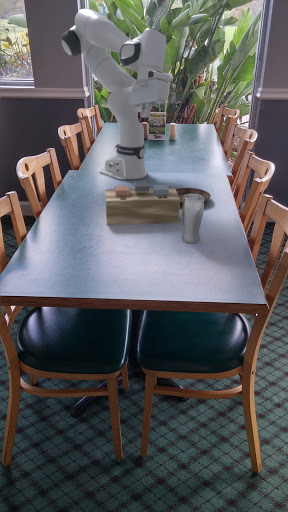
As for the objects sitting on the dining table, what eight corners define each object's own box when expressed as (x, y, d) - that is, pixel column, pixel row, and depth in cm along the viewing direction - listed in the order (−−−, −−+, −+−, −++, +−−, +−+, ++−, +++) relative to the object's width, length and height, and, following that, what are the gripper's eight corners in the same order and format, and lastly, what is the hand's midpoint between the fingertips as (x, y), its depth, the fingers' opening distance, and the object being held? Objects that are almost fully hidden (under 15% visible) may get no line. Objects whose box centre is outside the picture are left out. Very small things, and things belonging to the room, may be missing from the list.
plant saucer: (159, 196, 190) (160, 189, 188) (197, 192, 195) (198, 185, 194) (177, 212, 175) (177, 204, 174) (218, 206, 181) (218, 199, 179)
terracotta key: (115, 190, 167) (115, 185, 166) (128, 190, 168) (128, 185, 167) (115, 195, 163) (115, 190, 162) (129, 195, 163) (129, 190, 162)
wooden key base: (106, 211, 174) (105, 188, 169) (173, 210, 176) (174, 187, 171) (106, 224, 163) (106, 200, 159) (178, 222, 165) (180, 198, 161)
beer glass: (203, 236, 155) (206, 195, 148) (198, 245, 149) (201, 202, 142) (183, 233, 157) (185, 192, 150) (178, 241, 151) (180, 199, 144)
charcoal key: (134, 187, 167) (134, 181, 166) (147, 186, 168) (147, 181, 167) (135, 191, 163) (135, 186, 162) (149, 191, 163) (149, 186, 162)
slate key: (153, 190, 169) (153, 185, 168) (166, 190, 169) (166, 184, 168) (154, 195, 164) (154, 189, 163) (168, 194, 165) (168, 189, 164)
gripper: (127, 79, 170) (123, 117, 172) (158, 71, 153) (152, 113, 155) (142, 83, 173) (137, 120, 175) (173, 75, 156) (167, 117, 158)
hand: (144, 117), depth 165 cm, fingers closed
